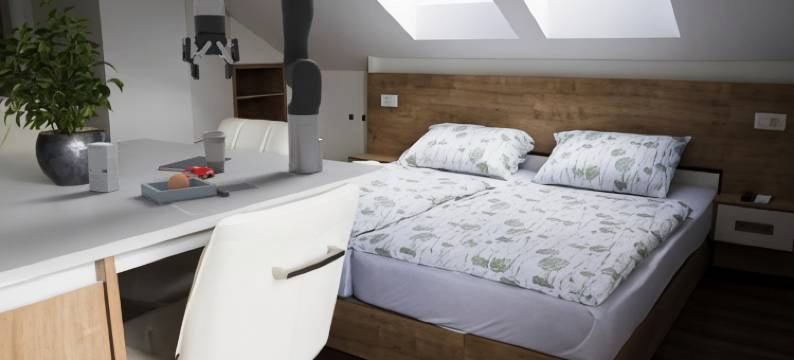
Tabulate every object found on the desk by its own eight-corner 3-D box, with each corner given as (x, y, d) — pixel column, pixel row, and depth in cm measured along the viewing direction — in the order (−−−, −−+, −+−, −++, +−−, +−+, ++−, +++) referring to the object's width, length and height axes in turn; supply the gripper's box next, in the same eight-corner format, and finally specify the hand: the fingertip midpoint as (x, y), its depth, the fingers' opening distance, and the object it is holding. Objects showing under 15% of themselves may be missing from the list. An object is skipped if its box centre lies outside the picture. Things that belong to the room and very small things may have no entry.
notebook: (199, 160, 213) (159, 171, 193) (198, 156, 212) (158, 166, 192) (233, 162, 209) (195, 173, 189) (232, 158, 209) (195, 168, 189)
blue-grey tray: (196, 188, 166) (196, 177, 165) (216, 197, 156) (216, 185, 156) (141, 195, 157) (140, 183, 157) (159, 205, 148) (158, 192, 147)
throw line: (200, 185, 169) (200, 180, 169) (229, 197, 155) (229, 192, 155) (196, 186, 169) (196, 181, 168) (224, 198, 155) (224, 192, 154)
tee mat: (245, 184, 172) (245, 182, 172) (258, 189, 166) (258, 187, 166) (217, 187, 167) (217, 186, 167) (229, 193, 161) (229, 191, 161)
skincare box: (88, 191, 162) (84, 143, 159) (101, 187, 166) (98, 141, 164) (108, 193, 160) (104, 145, 158) (121, 189, 164) (117, 142, 162)
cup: (221, 169, 194) (219, 130, 192) (232, 172, 189) (230, 132, 187) (199, 172, 189) (197, 131, 187) (210, 175, 184) (208, 134, 182)
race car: (184, 187, 169) (183, 172, 168) (169, 185, 171) (168, 170, 171) (218, 178, 181) (217, 164, 180) (203, 177, 183) (203, 163, 182)
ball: (185, 190, 160) (184, 171, 159) (192, 194, 156) (191, 174, 155) (165, 193, 157) (164, 173, 156) (172, 197, 153) (171, 176, 152)
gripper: (229, 16, 168) (232, 78, 171) (176, 13, 159) (179, 79, 162) (242, 14, 162) (244, 79, 165) (187, 12, 153) (190, 80, 156)
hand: (212, 79), depth 164 cm, fingers open, 8 cm apart
